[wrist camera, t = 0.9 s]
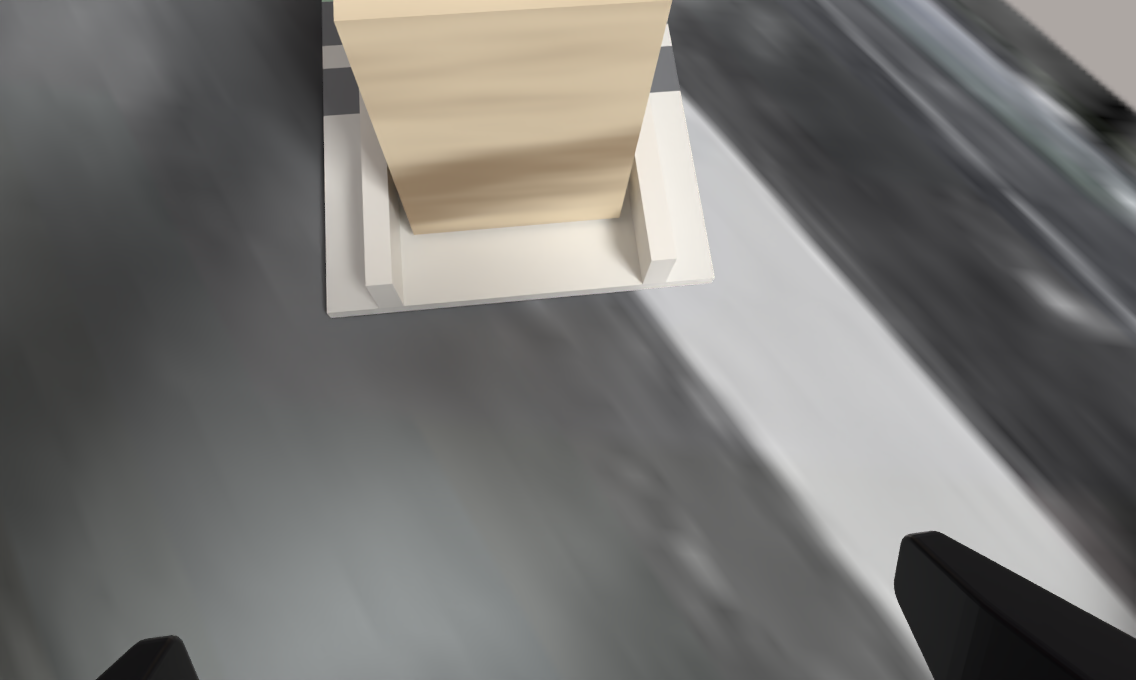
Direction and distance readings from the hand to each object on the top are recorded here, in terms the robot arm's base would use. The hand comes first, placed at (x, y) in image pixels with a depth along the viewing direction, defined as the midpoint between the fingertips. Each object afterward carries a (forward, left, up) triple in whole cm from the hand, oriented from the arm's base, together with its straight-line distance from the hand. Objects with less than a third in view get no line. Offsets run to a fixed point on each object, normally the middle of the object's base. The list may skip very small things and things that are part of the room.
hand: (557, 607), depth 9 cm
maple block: (+11, -9, -13) cm, 19 cm away
